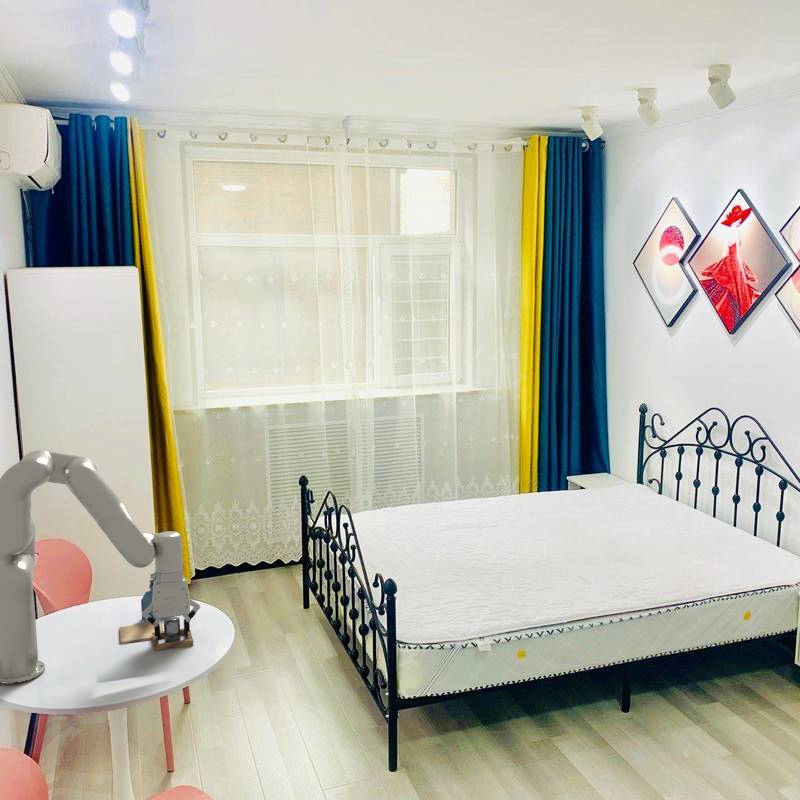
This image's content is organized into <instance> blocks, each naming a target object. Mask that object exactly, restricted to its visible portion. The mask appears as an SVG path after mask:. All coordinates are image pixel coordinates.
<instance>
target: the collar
mask: <svg viewBox="0 0 800 800" xmlns="http://www.w3.org/2000/svg"><path fill="white" fill-rule="evenodd" d="M152 635H153V639H152V641H153V649H154V652H158V651H164V650H171V649H178V648H185V647H191V646H194V639H193V635H192V633H191V630H190V632H188V636H185V633H184V627H182V628H181V627H180V636H183V635H184V636H185V637H186V639H182V640H180V641H174V642H167V643H165V642H162V643H160V642H159V641H160V640H158V638H157V636H156V637H155V632H154V633H152ZM162 636H164V630H163V631H161V632H160V639H162V638H161V637H162Z"/></svg>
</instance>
